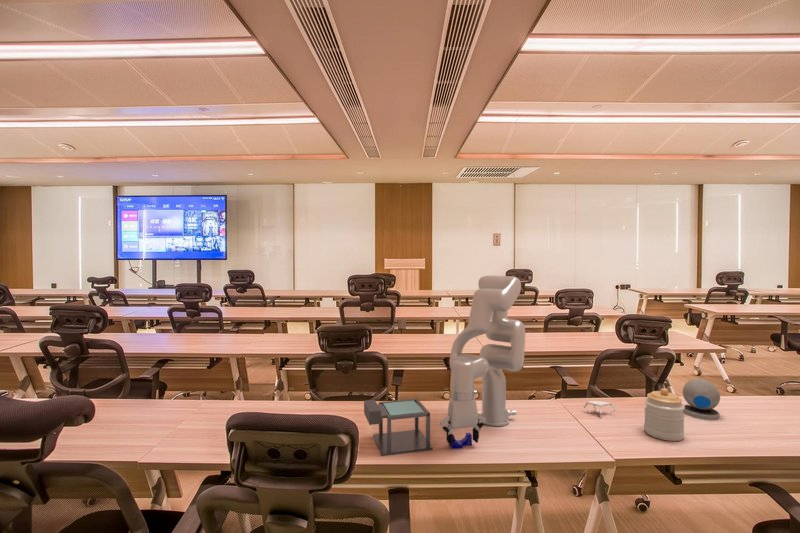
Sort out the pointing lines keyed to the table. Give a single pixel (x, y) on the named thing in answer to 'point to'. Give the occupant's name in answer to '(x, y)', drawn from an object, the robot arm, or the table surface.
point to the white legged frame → (599, 403)
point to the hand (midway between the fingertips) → (462, 442)
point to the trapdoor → (388, 410)
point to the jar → (664, 415)
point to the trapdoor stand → (404, 434)
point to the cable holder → (462, 442)
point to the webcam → (701, 399)
